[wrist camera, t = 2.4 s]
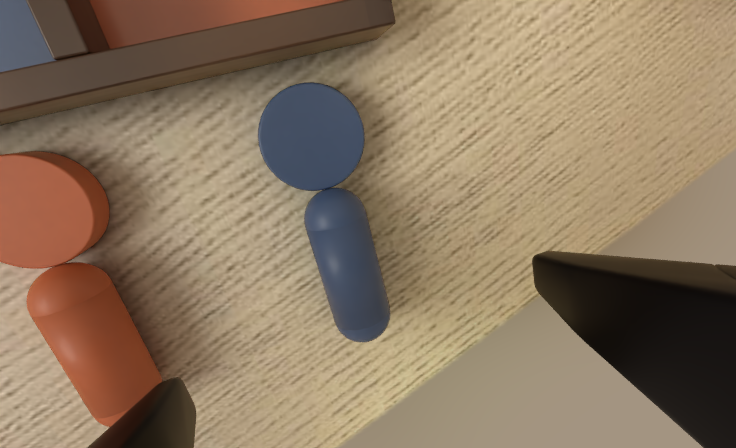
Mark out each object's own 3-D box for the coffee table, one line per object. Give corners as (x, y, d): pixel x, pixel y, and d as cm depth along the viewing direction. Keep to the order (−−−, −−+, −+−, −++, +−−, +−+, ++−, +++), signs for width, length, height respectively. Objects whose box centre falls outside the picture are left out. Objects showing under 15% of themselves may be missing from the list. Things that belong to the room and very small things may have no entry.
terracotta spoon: (195, 379, 13) (181, 421, 11) (103, 410, 13) (73, 460, 11) (80, 138, 11) (36, 142, 9) (-43, 167, 10) (-117, 178, 8)
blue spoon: (401, 308, 14) (419, 336, 13) (322, 335, 14) (329, 368, 12) (345, 74, 12) (357, 66, 10) (245, 98, 11) (238, 94, 9)
